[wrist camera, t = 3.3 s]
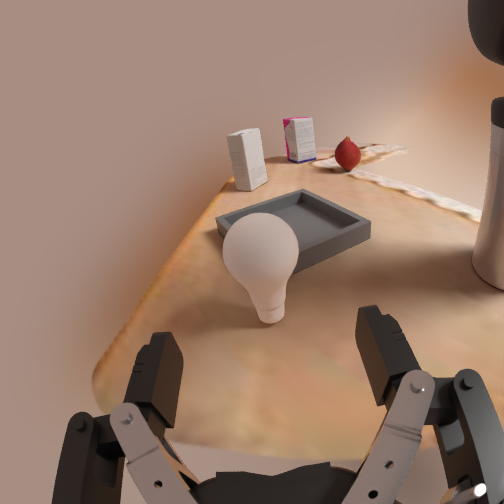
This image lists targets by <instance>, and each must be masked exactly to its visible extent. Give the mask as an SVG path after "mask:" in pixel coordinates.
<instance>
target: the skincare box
mask: <svg viewBox="0 0 504 504" xmlns="http://www.w3.org/2000/svg"><path fill="white" fill-rule="evenodd" d="M227 142H228V147H229V153H230V158H231V163H232V169H233V174H234V179H235V184H236V189H237V190H242V191H252V190H254V189H256V188H257V187H259V186H260V185H262V184H264V183H265V182H267V175H266V168H265V162H264V156H263V149H262V143H261V136H260V130H259V129H258V128H256V129H244V130H241V131H238V132H236V133H233V134H230V135H227Z"/></svg>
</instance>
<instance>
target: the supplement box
mask: <svg viewBox="0 0 504 504" xmlns="http://www.w3.org/2000/svg"><path fill="white" fill-rule="evenodd" d="M283 123H284V131H285V139H286V147H287V156H288V160H289V161H293V162H295V163H298V164H299V163H303V162H308V161H312V160H316V151H315V140H314V131H313V121H312V118H308V117H296V118H288V119H283Z"/></svg>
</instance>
